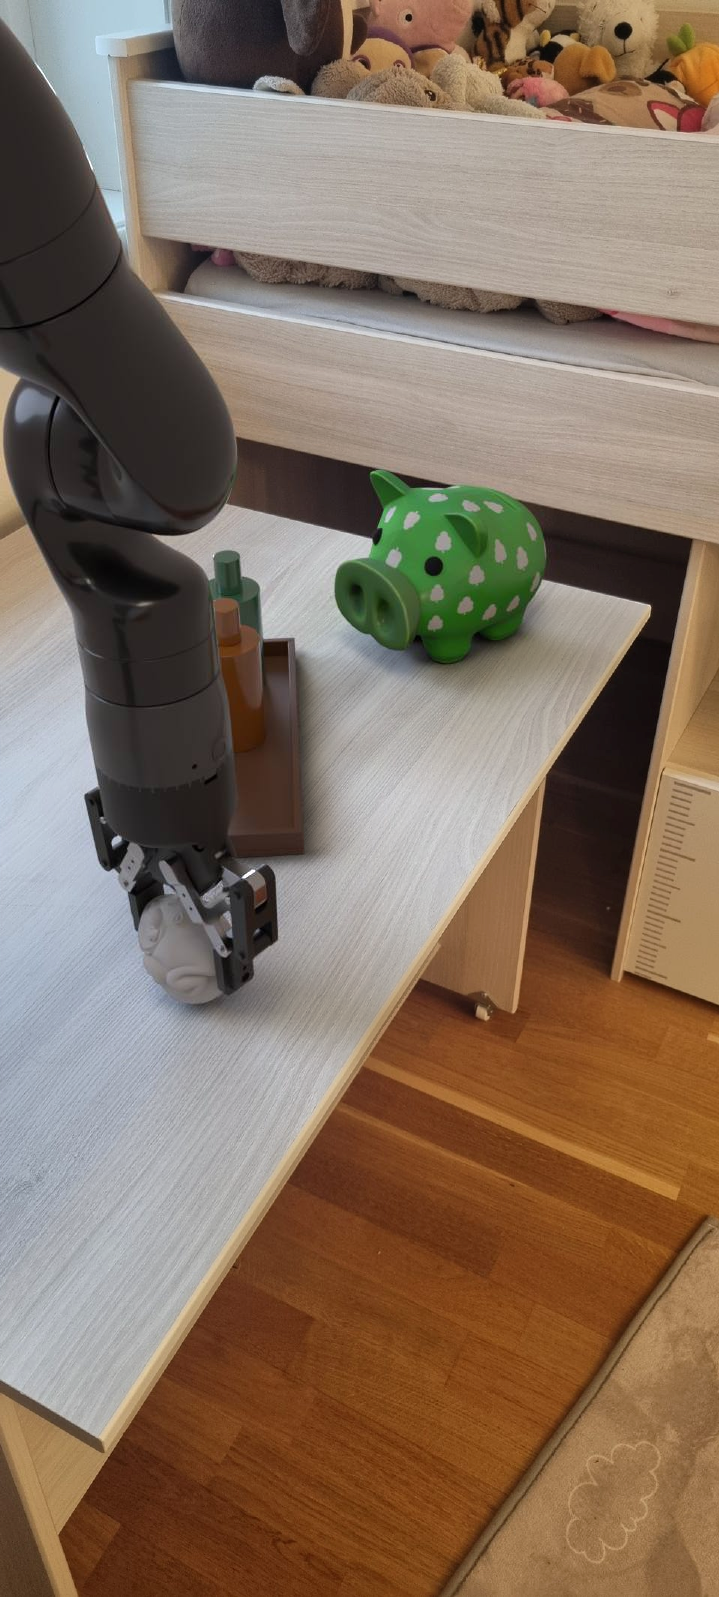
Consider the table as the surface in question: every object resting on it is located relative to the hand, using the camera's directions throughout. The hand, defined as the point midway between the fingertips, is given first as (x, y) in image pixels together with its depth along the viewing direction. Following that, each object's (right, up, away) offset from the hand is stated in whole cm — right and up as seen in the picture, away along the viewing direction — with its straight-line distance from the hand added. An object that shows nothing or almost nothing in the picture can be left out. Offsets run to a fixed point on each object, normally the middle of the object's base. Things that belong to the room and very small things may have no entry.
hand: (193, 955), depth 75 cm
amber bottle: (0, +15, +23) cm, 27 cm away
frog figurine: (0, -2, +2) cm, 3 cm away
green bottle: (0, +20, +29) cm, 35 cm away
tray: (0, +14, +22) cm, 26 cm away
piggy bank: (+18, +25, +36) cm, 47 cm away
